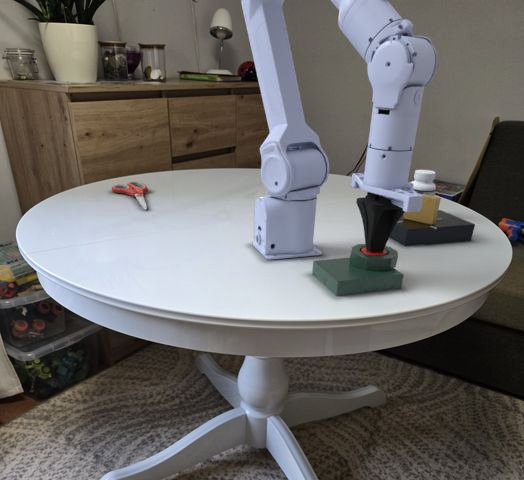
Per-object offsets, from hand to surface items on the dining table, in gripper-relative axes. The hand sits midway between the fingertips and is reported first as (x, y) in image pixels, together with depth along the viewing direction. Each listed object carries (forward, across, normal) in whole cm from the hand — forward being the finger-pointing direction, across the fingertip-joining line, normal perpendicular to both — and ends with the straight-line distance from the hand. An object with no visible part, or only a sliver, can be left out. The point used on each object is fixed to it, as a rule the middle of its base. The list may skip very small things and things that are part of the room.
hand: (374, 250), depth 69 cm
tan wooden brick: (+1, +15, -18) cm, 23 cm away
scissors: (+4, +55, +26) cm, 61 cm away
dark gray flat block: (+4, +16, -20) cm, 26 cm away
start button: (+2, 0, 0) cm, 2 cm away
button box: (+4, -1, +3) cm, 5 cm away
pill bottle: (+4, +28, -27) cm, 39 cm away
